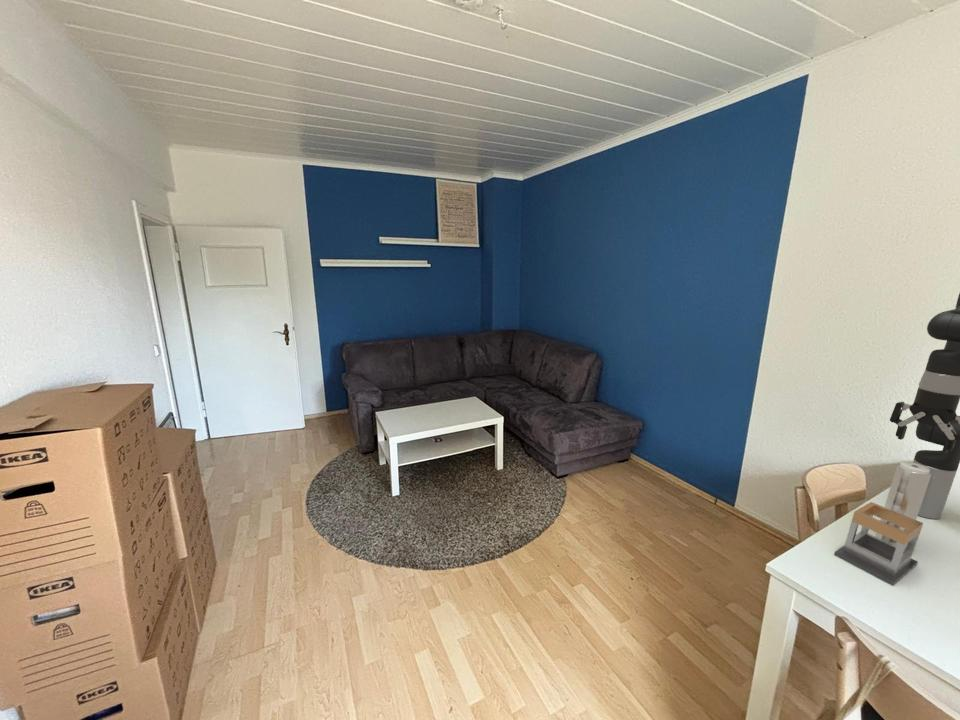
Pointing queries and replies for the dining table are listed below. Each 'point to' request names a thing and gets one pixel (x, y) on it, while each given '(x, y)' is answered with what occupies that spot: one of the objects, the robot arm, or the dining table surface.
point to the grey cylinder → (906, 493)
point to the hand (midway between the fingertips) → (921, 444)
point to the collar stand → (881, 543)
